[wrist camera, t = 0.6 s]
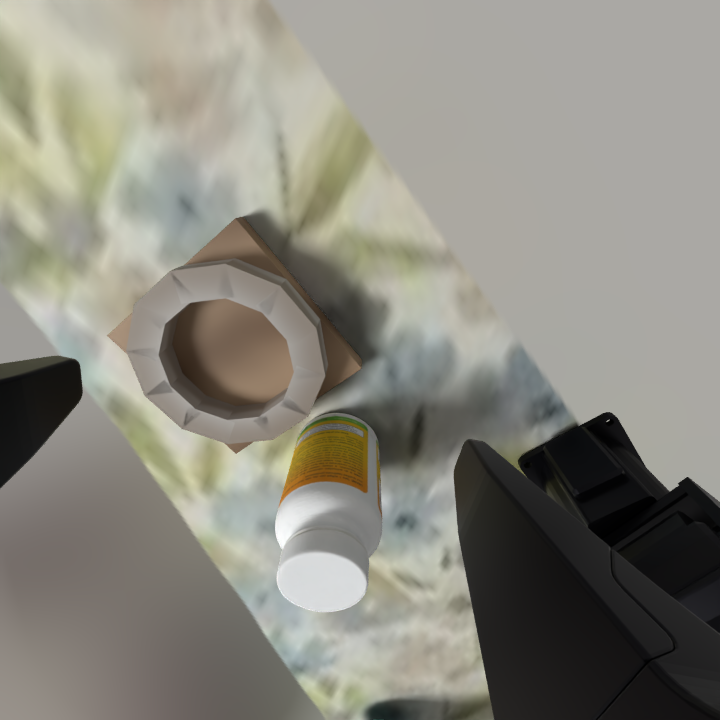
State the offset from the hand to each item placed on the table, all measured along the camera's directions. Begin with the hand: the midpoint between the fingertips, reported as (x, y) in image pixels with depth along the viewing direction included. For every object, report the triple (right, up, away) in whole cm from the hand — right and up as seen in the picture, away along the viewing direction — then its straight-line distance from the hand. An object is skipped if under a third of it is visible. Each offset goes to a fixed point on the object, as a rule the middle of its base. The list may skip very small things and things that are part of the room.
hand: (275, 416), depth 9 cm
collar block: (-5, +2, +13) cm, 15 cm away
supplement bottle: (+1, -4, +17) cm, 17 cm away
